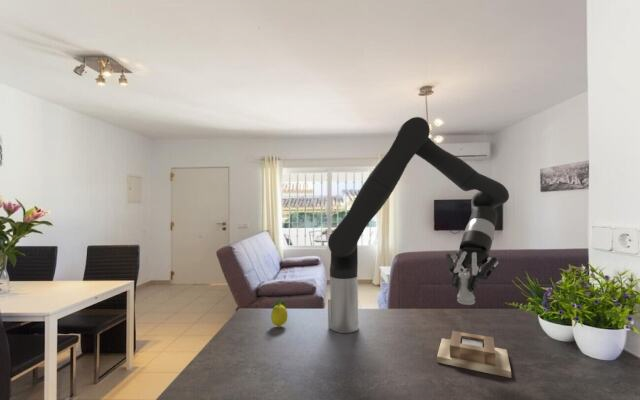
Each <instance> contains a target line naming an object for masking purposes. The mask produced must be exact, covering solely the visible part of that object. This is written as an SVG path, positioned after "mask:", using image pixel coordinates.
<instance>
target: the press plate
mask: <svg viewBox="0 0 640 400" xmlns="http://www.w3.org/2000/svg"><path fill="white" fill-rule="evenodd" d="M462 344H467V345H473V346H478V347H483V342H482V341H476V340H470V339H464V338H462Z"/></svg>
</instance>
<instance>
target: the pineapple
mask: <svg viewBox="0 0 640 400" xmlns="http://www.w3.org/2000/svg"><path fill="white" fill-rule="evenodd" d="M286 307H287V305H286V302H285V301H280V299H278V300H277V301H275V302H274V304H273V308H272V310H271V313H270V321H271V323H272V324H273V325H274V326H277V327H278V328H281V327H282V326H283V325H284V324H286V323H287V321H288V310H287V308H286Z"/></svg>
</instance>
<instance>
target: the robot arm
mask: <svg viewBox="0 0 640 400" xmlns="http://www.w3.org/2000/svg"><path fill="white" fill-rule="evenodd" d="M430 131H431V130H430V124H429V123H428V121H427V119H425V118H423V117H420V116H413V117H410V118H408V119H407V120H405V121H404V122H403V123H401V126H400V128H399V130H398V131H397V135H396V136H395V138H394V140H393V142H392V144H391V146H390V148H389V150H388V151H387V152H386V153H385V154H384V156H383V158H382V159H381V160H380V161H379V162H378V163H377V164H376V166H375V167H374V168H373V170H372V171H371V172H370V173H369V175H368V177H367V178H366V180H365V182H364V183H363V184H362V186H361V187H360V189H359V191H358V193H357V194H356V197H355V198H354V201H352V204H351V206H350V208H349V210H348V211H347V213H346V215H345V216H344V218H343V219H342V220H341V221H340V223H339V224H338V225H337V226H336V228H335V229H334V230H333V231H332V232H331V233H330V234H329V236H328V242H327V245H328V249H329V251H330V264H329V297H330V298H328V299H327V324H328V325H327V327H328V329H329V330H332V331H333V332H335V333H338V334H339V333H340V334H351V333H354V332H357V331H358V330H359V292H358V291H359V290H358V289H359V287H358V286H359V284H358V281H359V280H358V268H359V267H358V265H359V264H358V258H359V257H358V255H359V253H358V243H359V240H360V238H361V237H362V234H363V233H364V230H365V229H366V227H367V226H368V225H369V223H370V222H371V221H372V220H373V218H374V217H375V216H376V215H377V213H379V212H380V210H381V209H382V207H383V206H384V205H385V204H386V202H387V201H388V199H389V198H390V196H391V194H392V193H393V192H394V190H395V188H396V187H397V185H398V184H399V181H400V179H401V178H402V176H403V174H404V172H405V170H406V168H407V166H408V164H409V163H410V161H411V160H412V158H414V156H415V155H416V156H418V157H420V158H421V159H423V160H425V162H427V163H428V164H430V165H431V166H432V167H434V168H435V169H436V170H438V171H439V172H440V173H441V174H442V175H443V176H445V177H446V178H447V179H448V180H450V181H451V182H452V183H453V184H454V185H456V186H457V187H458V188H459V189H461V190H462V191H464V192H469V191H473V190H476V192H475V193H474V194H473V196H472V198H471V201H470V203H471V204H470V205H471V206H470V207H471V208H470V209H471V210H470V211H471V213H470V218H469V219H468V220H469V221H468V223H467V224H466V227H465V229H464V233H463V234H462V235H463V236H462V237H461V241H460V244H459V249H458V250H457V251H456V253H453V254H450V252H449V253H448V252H447V253H446V254H445V258H446V259H445V260H446V265H447V270H448V271H449V274H450V276H452V278H451V281H450V284H451V286H452V288H453V290H457V291H458V289H459V288H460V282H459V281H460V277H459V276H458V275H459V272H460V271H464V273H465V271H467V270H468V269H471V271H472V272H471V274H472V275H471V276H470V280H469V283H468V287H467V288H468V290H469V292H472V293H474V291H476V290H477V288H478V287H477V286H478V284H479V281H480V280H484V281H487V280H488V279H489V278H491V277H490V276H491V275H492V274H493V273H494V272H495V271H496V269H497V268H498V267H499V266H500V263H499V261H498V258H496V257H495V256H494V257H491V256H490V253H491V252H490V251H491V248H492V245H493V241H494V236H495V229H496V226H497V221H498V216H499V215H498V213H497V211H496V208H497V207H499V206H502V205H504V204H505V203H507V202H508V200H509V199H510V194H509V191H508V189H507V188H506V186H505V185H503V184H502V183H500V182H499V181H497V180H495V179H493V178H491V177H489V176H486V175H484V174H481V173H479V172H478V171H477V170H475V169H474V168H473V167H472V166H471V165H469V164H468V163H467V162H465V161H464V160H463V159H462V158H459V157H458V156H456V155H454V154H452V153H450V152H449V151H447V150H445V149H444V148H443V147H440V146H439V145H438V144H436V143H435V141H433V140H432V139H431V138H430V137H429V136H430ZM456 260H458V261H457V262H456ZM454 263H456V266H455V264H454ZM483 266H484V267H483ZM482 267H483V268H482Z"/></svg>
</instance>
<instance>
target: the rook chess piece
mask: <svg viewBox="0 0 640 400" xmlns="http://www.w3.org/2000/svg"><path fill="white" fill-rule="evenodd" d="M458 276H459V277H460V281H459V282H460V284H459V291H458V293H457V295H456V298H457V299H456V301H457V302H458V303H459V304H461V305H465V306H472V305H474V304H476V302H477V301H476V300H475V299H476V297H475V295H474V292H469V290H468V288H467V287H468V283H469V280H470V276H472V275H471V272H470V271H467V270H466V271H465V272H464V271H460V272H459V275H458Z"/></svg>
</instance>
